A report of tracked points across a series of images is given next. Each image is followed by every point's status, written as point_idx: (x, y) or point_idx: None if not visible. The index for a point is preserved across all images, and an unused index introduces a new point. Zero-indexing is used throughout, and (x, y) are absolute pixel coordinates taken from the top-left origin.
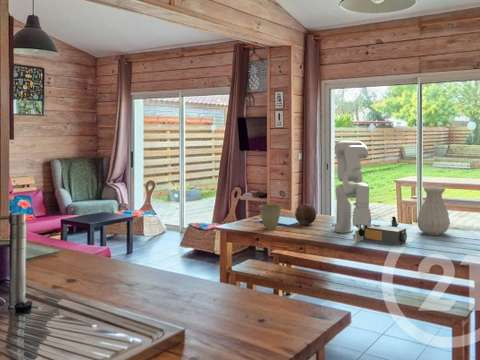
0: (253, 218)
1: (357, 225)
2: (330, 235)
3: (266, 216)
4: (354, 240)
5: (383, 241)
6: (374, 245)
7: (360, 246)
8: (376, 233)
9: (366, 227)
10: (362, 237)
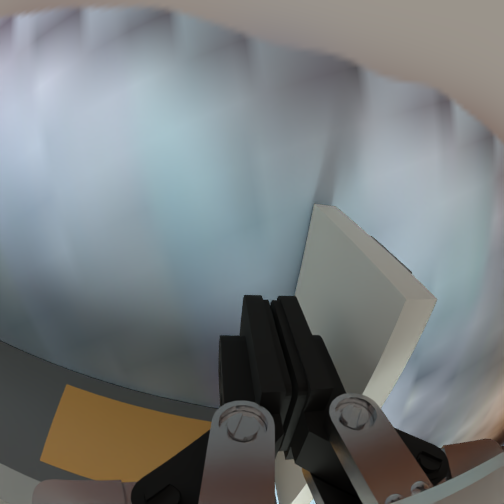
0: None
1: (420, 473)
2: (468, 394)
3: None
4: (351, 220)
5: (51, 374)
6: (77, 232)
7: (234, 92)
8: (110, 455)
9: (150, 474)
10: None
